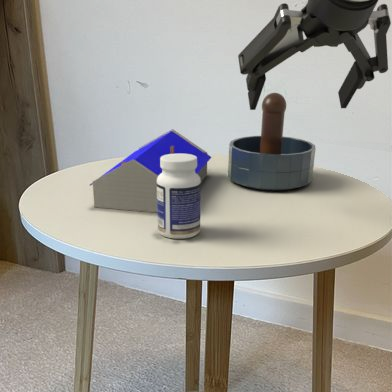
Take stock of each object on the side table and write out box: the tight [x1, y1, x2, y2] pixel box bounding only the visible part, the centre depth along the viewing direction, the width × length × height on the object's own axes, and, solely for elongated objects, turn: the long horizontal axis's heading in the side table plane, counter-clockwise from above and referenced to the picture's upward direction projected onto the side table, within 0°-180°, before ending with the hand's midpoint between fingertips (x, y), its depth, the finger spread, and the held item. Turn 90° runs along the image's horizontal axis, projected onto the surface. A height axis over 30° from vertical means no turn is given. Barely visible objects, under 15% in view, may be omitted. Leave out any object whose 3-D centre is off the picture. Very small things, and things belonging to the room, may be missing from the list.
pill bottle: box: [156, 153, 202, 240], centre depth 78 cm, size 6×6×10 cm
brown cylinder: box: [260, 92, 287, 154], centre depth 100 cm, size 4×4×13 cm
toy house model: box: [88, 128, 212, 214], centre depth 95 cm, size 22×14×7 cm, turn 167°
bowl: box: [227, 135, 316, 192], centre depth 101 cm, size 14×14×6 cm
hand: (297, 101), depth 87 cm, fingers open, 13 cm apart
